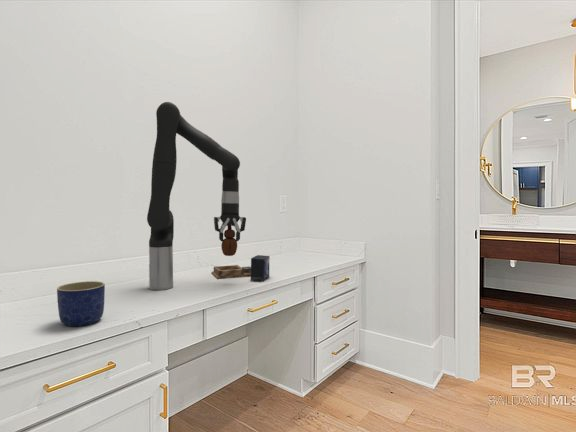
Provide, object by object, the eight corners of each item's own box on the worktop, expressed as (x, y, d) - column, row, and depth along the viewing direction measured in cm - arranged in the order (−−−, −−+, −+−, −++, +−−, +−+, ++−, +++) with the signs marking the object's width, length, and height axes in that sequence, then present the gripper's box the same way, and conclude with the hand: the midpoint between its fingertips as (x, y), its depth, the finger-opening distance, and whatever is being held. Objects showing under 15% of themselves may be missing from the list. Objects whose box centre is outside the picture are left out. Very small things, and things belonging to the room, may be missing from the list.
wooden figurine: (229, 256, 157) (229, 221, 157) (218, 255, 160) (219, 220, 160) (239, 255, 163) (240, 220, 162) (229, 253, 166) (229, 220, 165)
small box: (264, 282, 166) (264, 258, 166) (250, 281, 167) (250, 258, 167) (270, 277, 176) (270, 255, 176) (256, 276, 178) (256, 254, 177)
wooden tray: (217, 279, 172) (217, 271, 172) (211, 273, 185) (211, 266, 185) (258, 275, 180) (258, 268, 180) (250, 270, 193) (250, 263, 192)
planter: (47, 326, 108) (46, 288, 107) (84, 313, 119) (84, 279, 119) (79, 331, 103) (78, 292, 103) (114, 318, 115) (114, 283, 114)
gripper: (215, 202, 154) (214, 242, 155) (248, 202, 160) (248, 241, 161) (211, 201, 161) (211, 240, 162) (244, 202, 167) (243, 239, 168)
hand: (229, 241), depth 161 cm, fingers closed on wooden figurine, 6 cm apart
